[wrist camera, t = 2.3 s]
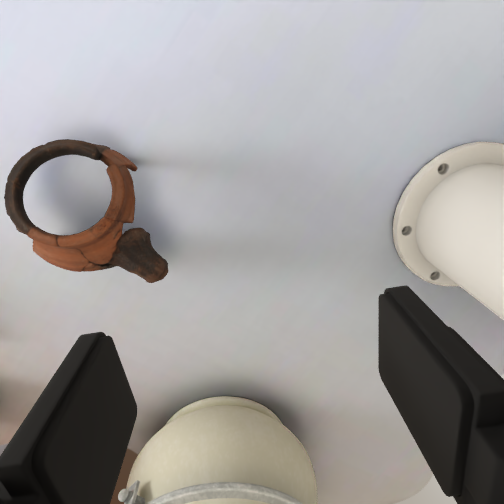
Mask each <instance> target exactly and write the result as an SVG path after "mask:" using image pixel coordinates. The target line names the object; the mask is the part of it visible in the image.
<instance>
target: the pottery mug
mask: <svg viewBox="0 0 504 504" xmlns="http://www.w3.org/2000/svg"><path fill="white" fill-rule="evenodd" d="M63 155H81V156H86V157H89V158H92V159H94V160H101V161H102V162H104V163H105V164H106V165H107V166H108V168H107V173H108V175H109V177H110V181H111V184H112V198H111V202H110V205H109V207H108V210H107V212H106V213H105V216H104V217H103V218H102V219H101V220H100V221H99V222H98V223H97V224H95V225H94V226H92V227H91V228H89V229H88V230H85V231H83V232H80V233H77V234H73V235H55V234H50V233H47V232H45V231H43V230H41V229H40V228H38V227H36V226H35V225H34V224H33V223H32V222H31V221H30V219H29V218H28V216H27V214H26V212H25V209H24V205H23V191H24V188H25V185H26V183H27V181H28V179H29V178H30V176H31V174H32V173H33V172H34V171H35V170H36V169H37V168H38V167H39V166H40V165H42V164H43V163H45V162H47V161H49V160H51V159H53V158H56V157H59V156H63ZM127 168H128V169H130V170H132V171H137V167H136V166H135V165H134V164H133V163H132V162H131V161H130V160H129V159H128V158H126V157H125V156H123V155H122V154H120V153H118V152H117V151H115V150H111V149H110V148H109V147H107V146H103V145H96V144H91V143H87V142H84V141H77V140H69V139H66V140H56V141H52V142H48V143H46V145H40V146H38V147H36V148H33V149H32V150H31V151H30V152H28V153H27V154H25V155H24V156H22V157H21V158H20V160H19V161H18V162H17V163H16V164H15V165H14V167H13V168H12V170H11V172H10V174H9V176H8V178H7V181H8V182H7V183H6V189H5V197H4V198H5V206H6V210H7V214H8V215H9V216H10V218H11V220H12V221H13V223H14V224H15V226H16V228H17V230H18V231H19V232H22V233H24V234H27V235H28V236H29V237H30V238H31V239H33V240H34V241H33V251H34V252H35V253H36V254H38V255H39V256H40V257H41V258H43V259H44V260H46V261H47V262H49V263H51V264H53V265H55V266H58V267H60V268H63V269H66V270H70V271H78V272H81V271H96V270H103V269H107V268H112V267H115V266H119V267H122V268H123V269H125V270H127V271H129V272H131V273H134V274H137V275H138V276H140V277H141V278H143V279H145V280H146V281H147V282H149V283H154V282H156V281H159V280H162V279H163V278H164V277H165V276H166V275H167V273H168V263H167V261H166V260H165V259H163V258H162V257H161V256H160V255H159V254H158V253H157V252H156V251H155V250H154V248H153V247H152V245H151V241H150V234H149V233H148V232H146V231H145V230H144V229H142V228H132V229H129V230H127V231H126V232H125V233H124V234H122V227H123V223H133V220H134V211H135V195H134V186H133V181H132V177H131V175H130V173H129V171H128V169H127Z"/></svg>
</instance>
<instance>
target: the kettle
mask: <svg viewBox="0 0 504 504" xmlns="http://www.w3.org/2000/svg"><path fill="white" fill-rule="evenodd" d="M118 499H119V500H120V501H121V502H124V504H317V486H316V479H315V474H314V470H313V467H312V463H311V461H310V458H309V456H308V454H307V452H306V450H305V449H304V447H303V445H302V444H301V443H300V441H299V440H298V439H297V438H296V436H295V435H294V434H293V433H292V432H291V431H290V430H289V429H288V428H286V427H285V426H284V425H283V424H282V423H281V421H280V420H279V418H278V417H277V416H276V415H275V414H274V413H273V412H272V411H271V410H269V409H268V408H266V407H265V406H263V405H261V404H259V403H257V402H255V401H252V400H249V399H245V398H240V397H231V396H220V397H211V398H206V399H202V400H199V401H196V402H194V403H191V404H189V405H187V406H185V407H184V408H182V409H181V410H179V411H178V412H177V413H175V414H174V415H173V416H172V417H171V418H170V419H169V421H168V422H167V423H166V425H165V426H164V427H163V428H162V429H160V430H159V431H158V432H157V433H156V434H155V435H154V436H153V437H152V438H151V439H150V440H149V441H148V442H147V443H146V445H145V446H144V447H143V449H142V450H141V452H140V453H139V455H138V457H137V458H136V461H135V462H134V465H133V467H132V470H131V473H130V475H129V480H128V484H127V488H126V489H123V490H121V491H120V493H119V495H118Z"/></svg>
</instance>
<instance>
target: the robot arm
mask: <svg viewBox="0 0 504 504" xmlns="http://www.w3.org/2000/svg"><path fill="white" fill-rule="evenodd" d="M439 166H440V168H439ZM438 168H439V169H438ZM403 228H404V229H403ZM393 238H394V244H395V247H396V250H397V253H398V255H399V257H400V258H401V260H402V261H403V263H404V264H405V265H406V266H407V267H408V268H409V269H410V270H411V271H412V272H413V273H414V274H416V275H417V276H418V277H420V278H421V279H423V280H425V281H427V282H429V283H432V284H436V285H441V286H460V287H461V288H463V289H464V290H465V291H467V292H468V293H469V294H470V295H472V296H473V297H474V298H475V299H477V300H478V301H479V302H481V303H482V304H483V305H484V306H486V307H487V308H488V309H489V310H491V311H492V312H493V313H495V314H496V315H497V316H498V317H500V318H501V319H502V320H503V321H504V144H501V143H496V142H475V143H468V144H464V145H461V146H458V147H455V148H452V149H450V150H448V151H446V152H444V153H442V154H441V155H439V156H437V157H435V158H434V159H433V160H432V161H430V162H429V163H428V164H426V165H425V166H424V167H423V168H422V169H421V170H420V171H419V172H418V173H417V174H416V175H415V176H414V177H413V178H412V180H411V181H410V183H409V184H408V186H407V187H406V189H405V190H404V192H403V194H402V196H401V198H400V200H399V203H398V205H397V208H396V212H395V216H394V221H393ZM379 373H380V376H381V379H382V381H383V383H384V385H385V387H386V388H387V390H388V392H389V394H390V396H391V398H392V399H393V401H394V403H395V405H396V407H397V408H398V410H399V412H400V414H401V416H402V418H403V419H404V421H405V423H406V425H407V427H408V429H409V430H410V432H411V434H412V436H413V438H414V439H415V441H416V443H417V445H418V447H419V449H420V450H421V452H422V454H423V456H424V458H425V459H426V461H427V463H428V465H429V467H430V469H431V470H432V472H433V474H434V476H435V478H436V479H437V481H438V483H439V485H440V486H441V489H442V490H443V492H444V493H445V494H446V496H449V497H450V496H453V497H454V498H455V500H456V502H457V504H504V380H503V378H502V377H501V376H500V375H499V374H498V373H497V372H496V371H495V370H494V369H493V368H492V367H491V366H490V365H489V364H488V363H487V362H486V361H485V360H484V359H483V358H482V357H481V356H480V355H479V354H478V353H477V352H476V351H475V350H474V349H473V348H472V347H471V346H470V345H469V344H468V343H467V342H466V341H465V340H464V339H463V338H462V337H461V336H460V335H459V334H458V333H457V332H456V331H455V330H453V329H452V328H451V327H447V326H446V325H445V324H444V323H443V322H442V320H441V319H440V318H439V317H438V316H437V315H436V314H435V313H434V312H433V311H432V310H431V309H430V308H429V307H428V306H427V305H426V304H425V303H424V302H423V301H422V300H421V299H420V298H419V297H418V296H417V295H416V294H415V293H414V292H413V291H412V290H411V289H410V288H409V287H408V286H400V287H393V288H387V289H386V290H385V292H384V294H381V295H380V296H379ZM136 417H137V405H136V402H135V399H134V396H133V394H132V391H131V388H130V385H129V383H128V380H127V377H126V375H125V372H124V369H123V366H122V364H121V361H120V358H119V356H118V353H117V350H116V347H115V345H114V342H113V340H112V338H111V337H110V336H106V335H105V334H104V333H103V332H97V333H91V334H84V335H81V336H80V337H79V338H78V340H77V341H76V343H75V344H74V346H73V347H72V349H71V350H70V352H69V353H68V355H67V356H66V358H65V359H64V361H63V362H62V364H61V365H60V367H59V368H58V370H57V371H56V373H55V374H54V376H53V377H52V379H51V380H50V382H49V383H48V385H47V386H46V388H45V389H44V391H43V392H42V394H41V395H40V397H39V398H38V400H37V402H36V403H35V405H34V406H33V408H32V409H31V411H30V412H29V414H28V415H27V417H26V418H25V420H24V421H23V423H22V424H21V426H20V427H19V429H18V430H17V432H16V433H15V435H14V436H13V438H12V439H11V441H10V442H9V444H8V445H7V447H6V449H5V450H4V451H3V453H2V454H1V456H0V504H110V502H111V499H112V495H113V492H114V489H115V486H116V482H117V479H118V476H119V473H120V469H121V466H122V463H123V459H124V456H125V453H126V449H127V446H128V443H129V440H130V437H131V433H132V430H133V427H134V424H135V420H136Z"/></svg>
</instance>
